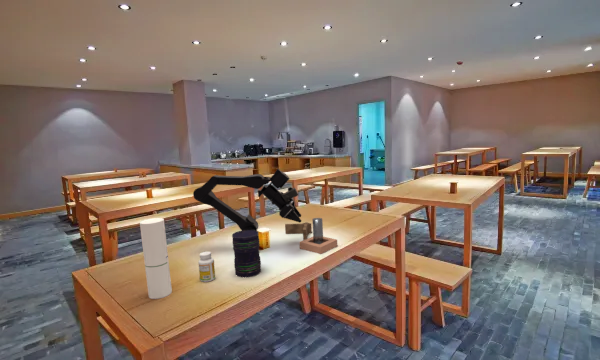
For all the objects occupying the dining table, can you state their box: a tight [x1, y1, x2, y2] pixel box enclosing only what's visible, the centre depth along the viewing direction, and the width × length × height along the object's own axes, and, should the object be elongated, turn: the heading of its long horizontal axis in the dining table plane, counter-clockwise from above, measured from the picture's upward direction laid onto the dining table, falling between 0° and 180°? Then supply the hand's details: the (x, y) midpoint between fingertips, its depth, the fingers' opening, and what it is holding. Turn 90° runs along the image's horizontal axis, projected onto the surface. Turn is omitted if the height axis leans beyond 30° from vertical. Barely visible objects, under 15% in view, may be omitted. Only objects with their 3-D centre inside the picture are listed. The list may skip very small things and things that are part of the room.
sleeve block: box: [299, 236, 338, 255], centre depth 143 cm, size 12×12×3 cm
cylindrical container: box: [139, 217, 173, 300], centre depth 105 cm, size 7×7×25 cm
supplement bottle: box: [197, 251, 216, 283], centre depth 115 cm, size 5×5×10 cm
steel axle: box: [312, 217, 324, 244], centre depth 142 cm, size 4×4×13 cm
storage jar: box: [231, 230, 262, 279], centre depth 119 cm, size 10×10×15 cm
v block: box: [284, 221, 313, 241], centre depth 163 cm, size 10×16×5 cm, turn 40°
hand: (300, 219), depth 141 cm, fingers open, 9 cm apart
